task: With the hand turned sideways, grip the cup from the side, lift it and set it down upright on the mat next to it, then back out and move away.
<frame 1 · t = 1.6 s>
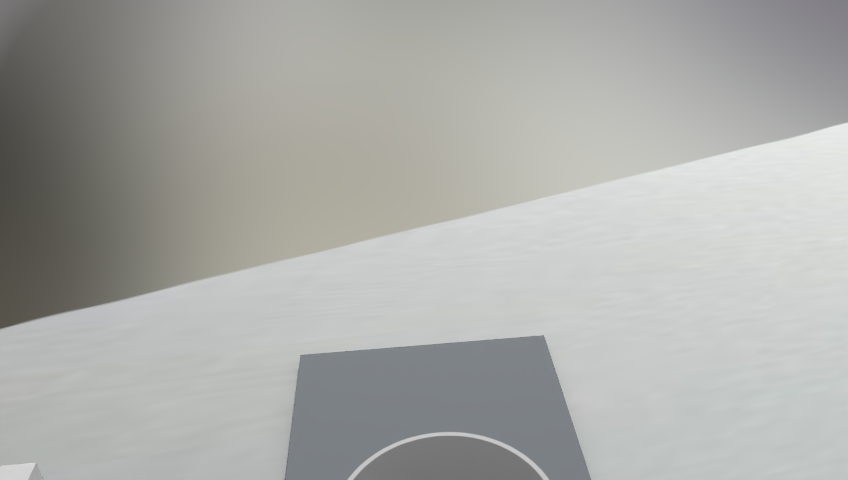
mat: (431, 434, 43), on the table
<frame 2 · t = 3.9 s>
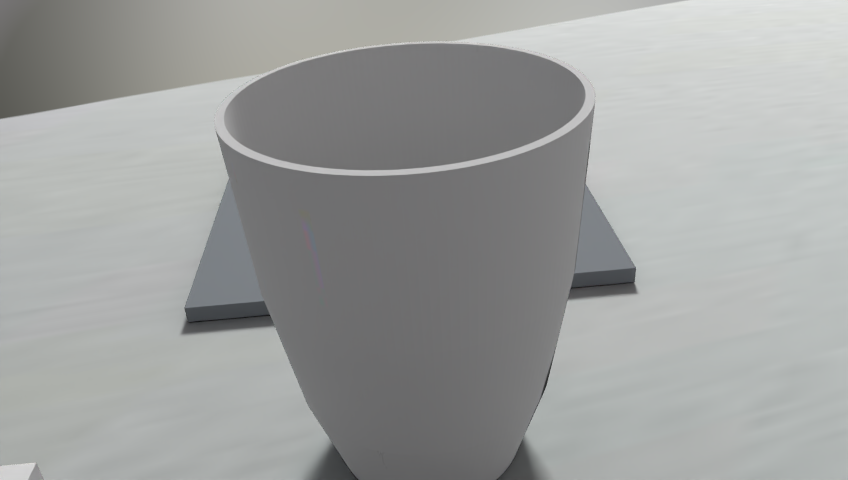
mat: (402, 205, 34), on the table
cup: (428, 437, 22), on the table
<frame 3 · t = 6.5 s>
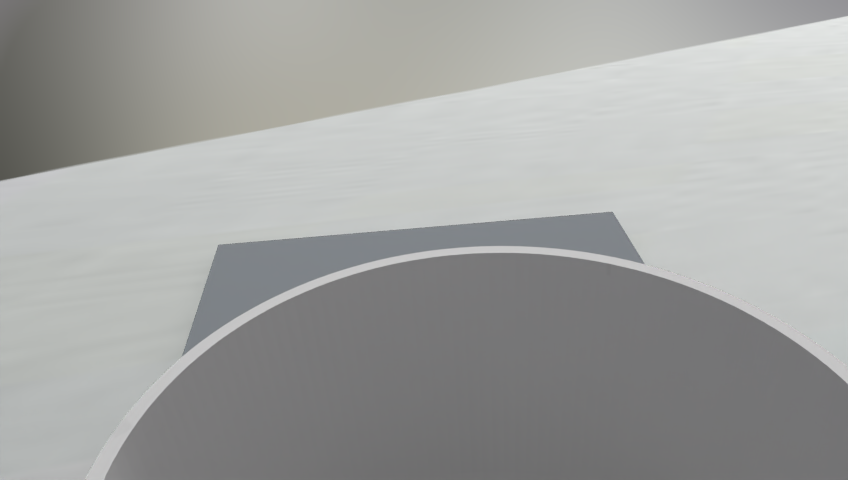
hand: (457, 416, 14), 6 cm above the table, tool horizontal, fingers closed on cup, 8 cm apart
mat: (432, 356, 24), on the table
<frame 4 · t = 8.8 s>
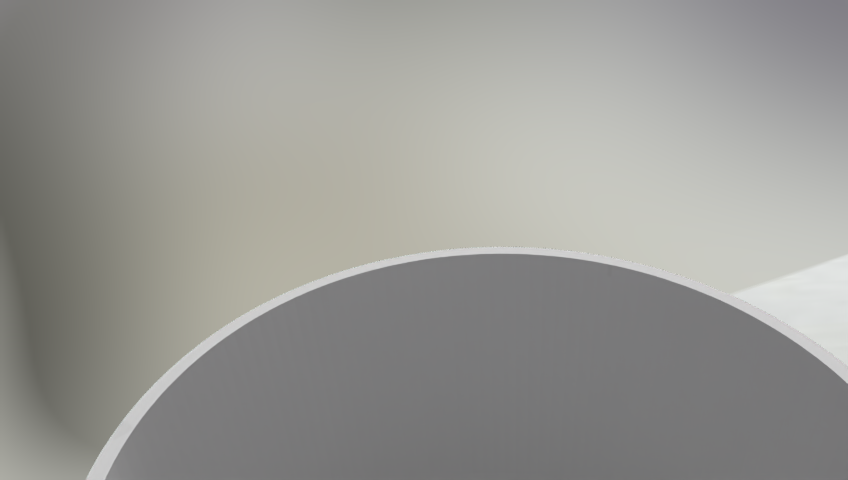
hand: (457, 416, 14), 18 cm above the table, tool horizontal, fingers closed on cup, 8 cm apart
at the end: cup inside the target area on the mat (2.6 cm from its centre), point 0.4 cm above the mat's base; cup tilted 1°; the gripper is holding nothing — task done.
